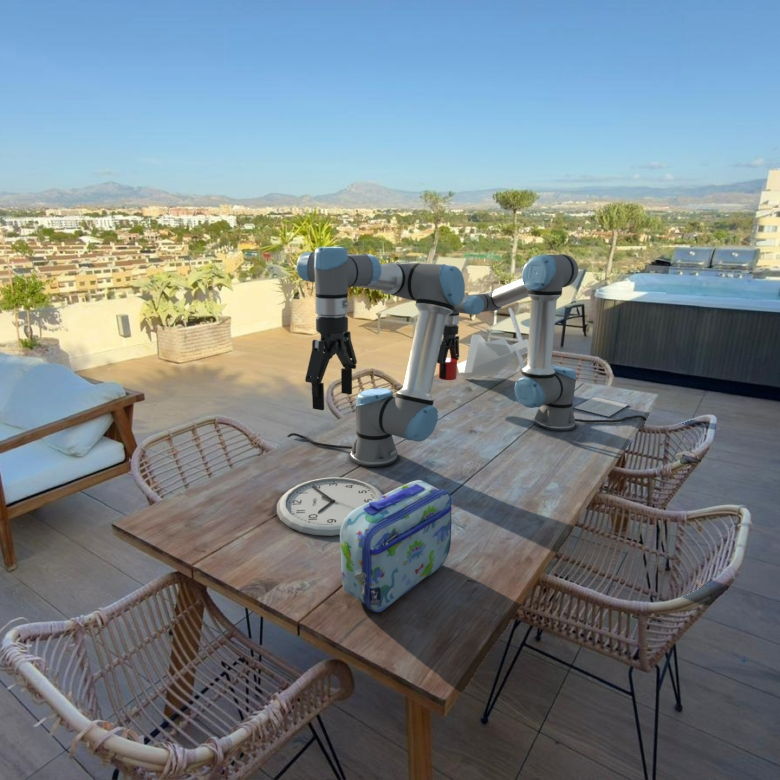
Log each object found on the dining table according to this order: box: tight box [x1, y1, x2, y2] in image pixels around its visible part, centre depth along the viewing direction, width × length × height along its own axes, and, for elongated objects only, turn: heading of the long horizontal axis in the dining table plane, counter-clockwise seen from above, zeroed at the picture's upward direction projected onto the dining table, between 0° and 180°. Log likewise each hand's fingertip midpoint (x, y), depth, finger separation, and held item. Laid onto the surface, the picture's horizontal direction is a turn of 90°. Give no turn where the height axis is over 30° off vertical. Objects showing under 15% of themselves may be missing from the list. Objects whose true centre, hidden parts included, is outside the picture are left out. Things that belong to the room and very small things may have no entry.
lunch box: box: [339, 479, 452, 613], centre depth 109 cm, size 26×11×21 cm, turn 134°
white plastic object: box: [457, 307, 529, 379], centre depth 256 cm, size 37×45×31 cm
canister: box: [438, 357, 458, 381], centre depth 228 cm, size 8×8×8 cm
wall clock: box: [276, 476, 385, 537], centre depth 142 cm, size 30×2×30 cm
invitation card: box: [573, 396, 629, 418], centre depth 226 cm, size 21×1×15 cm
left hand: (333, 401), depth 129 cm, fingers open, 13 cm apart
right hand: (447, 376), depth 229 cm, fingers closed on canister, 8 cm apart
